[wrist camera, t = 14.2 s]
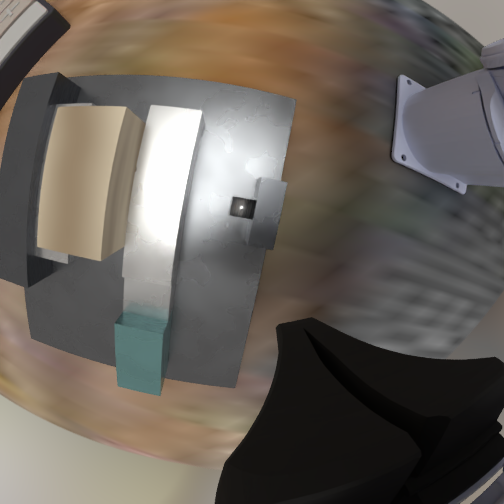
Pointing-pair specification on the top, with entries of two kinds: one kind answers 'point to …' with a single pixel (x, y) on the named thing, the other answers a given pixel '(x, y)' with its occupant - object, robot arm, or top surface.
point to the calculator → (25, 39)
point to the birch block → (88, 180)
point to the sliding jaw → (155, 245)
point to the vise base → (194, 231)
